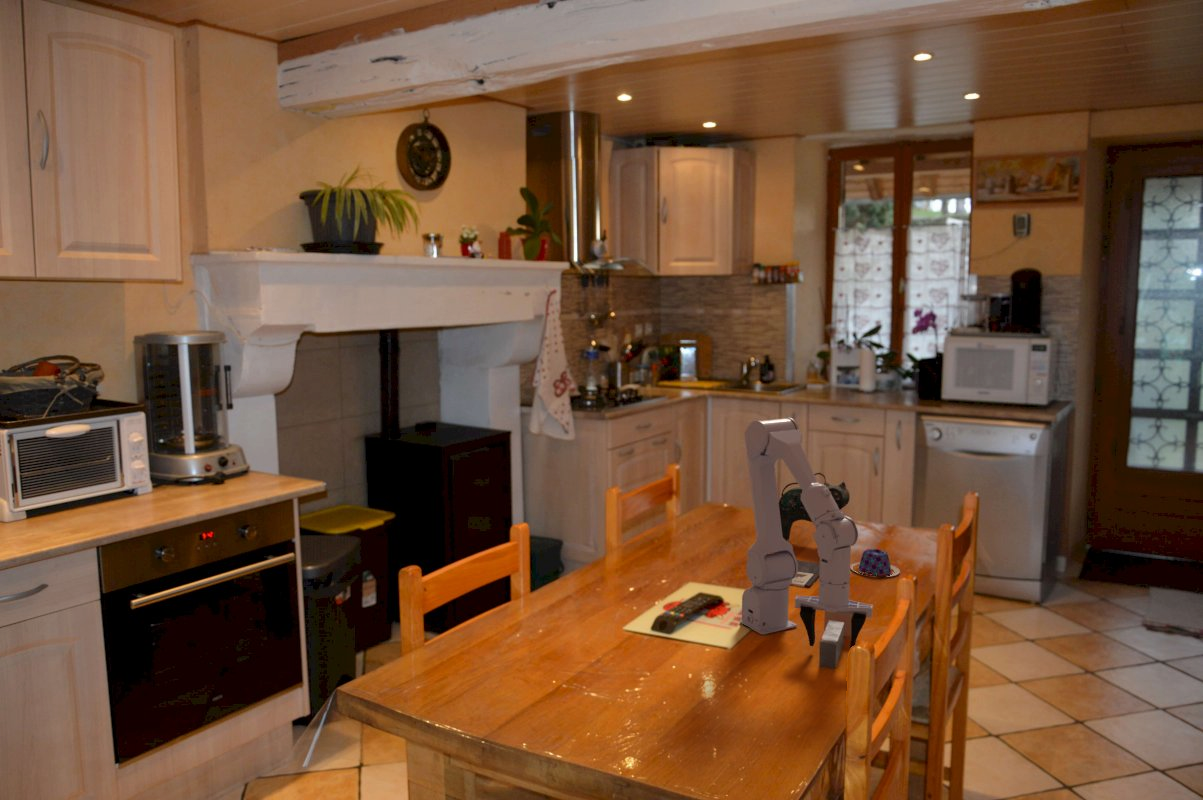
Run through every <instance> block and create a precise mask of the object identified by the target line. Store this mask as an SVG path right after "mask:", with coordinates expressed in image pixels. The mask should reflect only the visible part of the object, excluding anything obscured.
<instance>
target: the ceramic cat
mask: <svg viewBox="0 0 1203 800" xmlns="http://www.w3.org/2000/svg"><path fill="white" fill-rule="evenodd" d="M814 475H815V476H816V475H821V476H822V477H823V479H824V484H823V485H825V486H827V488H828V489H829V491H830V492H831V495H832V497H833V499H834V500H835V502H836V504H837V506H838V508H839V509H840V511H841V510H842V509H843V508H844V507H846V506H848V504H849V502H850V499H851V498H850V496H851V495H850V491H849V490H848V489H847V485H846V483H845V482H844V481H842V482H841V483H840V484H839V485H832V484H830V483H828V482H827V481H826V476H825V475H824V473H822V472H816V473H814ZM792 485H799V484H798V483H797V481H796V482H790V483H788V484H787V485H785V487H783V489H782V492H781V494H780V495H781V496H780V498H779V499H778V501H779V510H780V519H781V527H782V536H783V538H784V539H785V540H787V539H788V540H790V537H791V536H790V535H791V530H792V527H793V524H794V523H795V522H797V521H806V522H810V523H813V522H812V520H811V518H810V516H809V514H808V513H807V511H806V509H805V507H804V505H803V503H802V501H801V494H802V489H801V487H800V486H798V487H793V488H791V489H789V490H786V489H787V488H789V487H790V486H792ZM785 490H786V492H784V491H785ZM841 512H842V511H841ZM788 540H787V541H788Z"/></svg>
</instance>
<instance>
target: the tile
mask: <svg viewBox="0 0 1203 800" xmlns="http://www.w3.org/2000/svg"><path fill="white" fill-rule="evenodd" d="M852 616H853V614H847V613H840V612H828V611H824V618H823V620H824V621H823V622H824V624H823V625H824V626H823V632H824V631H825V629H826V627H827V624H828V622H829V620H831V621H838V622H844V637H847V638H851V619H852Z"/></svg>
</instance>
